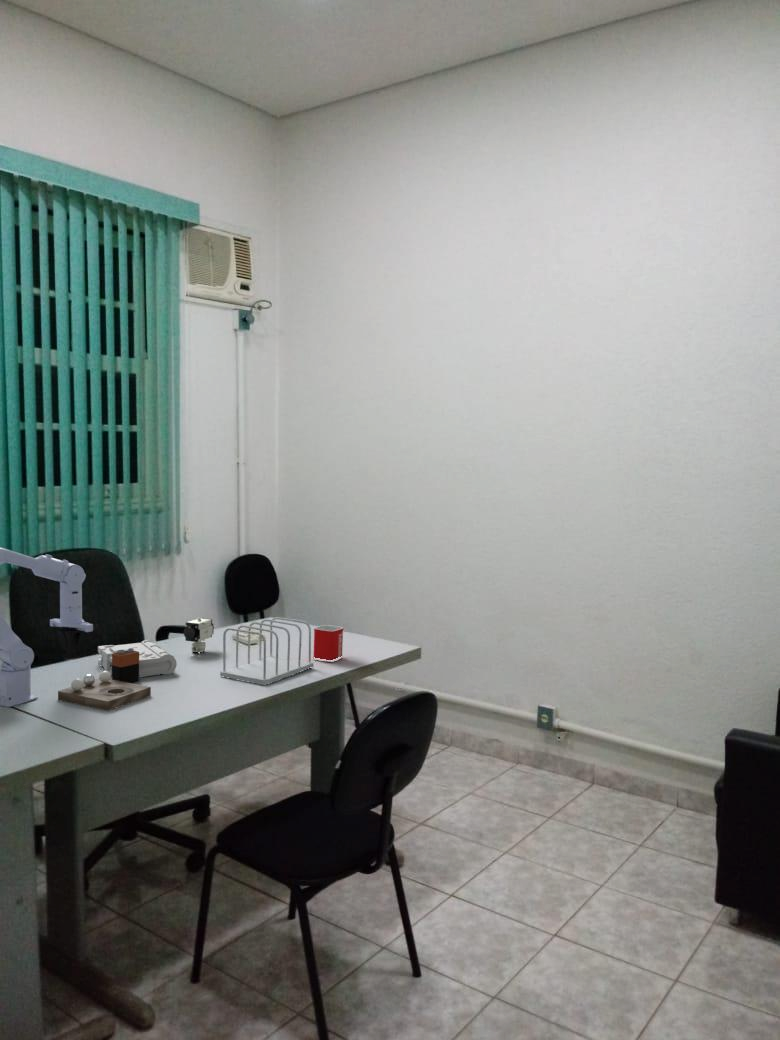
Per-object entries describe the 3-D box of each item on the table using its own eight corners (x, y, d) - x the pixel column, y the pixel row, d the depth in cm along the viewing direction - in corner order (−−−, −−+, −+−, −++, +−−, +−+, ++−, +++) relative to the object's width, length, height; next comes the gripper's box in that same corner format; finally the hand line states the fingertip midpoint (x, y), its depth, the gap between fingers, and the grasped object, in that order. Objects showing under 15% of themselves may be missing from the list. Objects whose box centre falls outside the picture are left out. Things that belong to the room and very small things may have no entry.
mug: (332, 663, 273) (332, 631, 272) (310, 660, 277) (311, 628, 276) (350, 656, 284) (351, 625, 283) (329, 652, 287) (330, 622, 286)
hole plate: (107, 710, 216) (107, 701, 216) (57, 700, 224) (58, 690, 224) (150, 695, 231) (150, 687, 230) (102, 686, 238) (102, 677, 238)
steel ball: (88, 687, 228) (88, 676, 227) (80, 686, 229) (80, 674, 229) (97, 685, 231) (97, 673, 230) (89, 683, 232) (89, 672, 232)
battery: (110, 684, 241) (111, 650, 240) (130, 679, 247) (130, 646, 246) (120, 686, 239) (120, 652, 238) (139, 682, 244) (140, 648, 243)
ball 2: (105, 684, 232) (105, 673, 231) (96, 682, 233) (96, 671, 233) (113, 681, 235) (113, 670, 234) (105, 679, 236) (105, 668, 236)
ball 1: (77, 692, 223) (77, 681, 222) (68, 691, 224) (68, 679, 224) (86, 690, 226) (86, 678, 225) (77, 688, 227) (77, 676, 227)
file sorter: (270, 661, 274) (271, 614, 273) (313, 669, 266) (315, 621, 264) (219, 677, 253) (220, 626, 251) (264, 686, 244) (265, 634, 243)
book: (150, 655, 278) (150, 632, 277) (177, 675, 254) (177, 650, 253) (91, 662, 267) (90, 638, 267) (113, 683, 244) (112, 658, 243)
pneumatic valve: (182, 655, 277) (183, 619, 276) (202, 648, 288) (202, 614, 287) (196, 657, 275) (197, 621, 275) (216, 649, 286) (216, 615, 286)
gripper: (101, 606, 232) (101, 654, 233) (63, 601, 238) (64, 647, 239) (81, 610, 225) (82, 659, 227) (43, 605, 232) (44, 653, 233)
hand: (71, 654), depth 232 cm, fingers closed
